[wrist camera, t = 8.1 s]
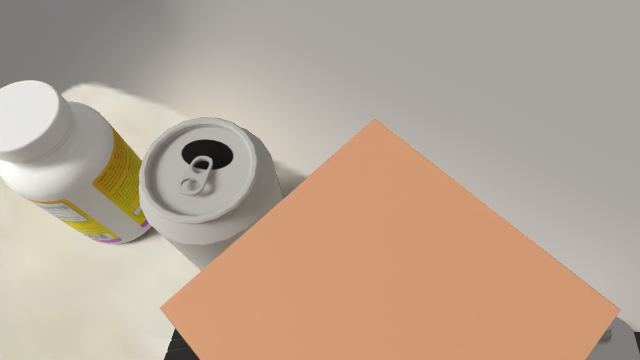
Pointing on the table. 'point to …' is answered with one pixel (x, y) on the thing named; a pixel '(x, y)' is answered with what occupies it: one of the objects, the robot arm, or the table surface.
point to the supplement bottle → (70, 163)
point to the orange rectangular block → (386, 274)
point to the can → (206, 186)
